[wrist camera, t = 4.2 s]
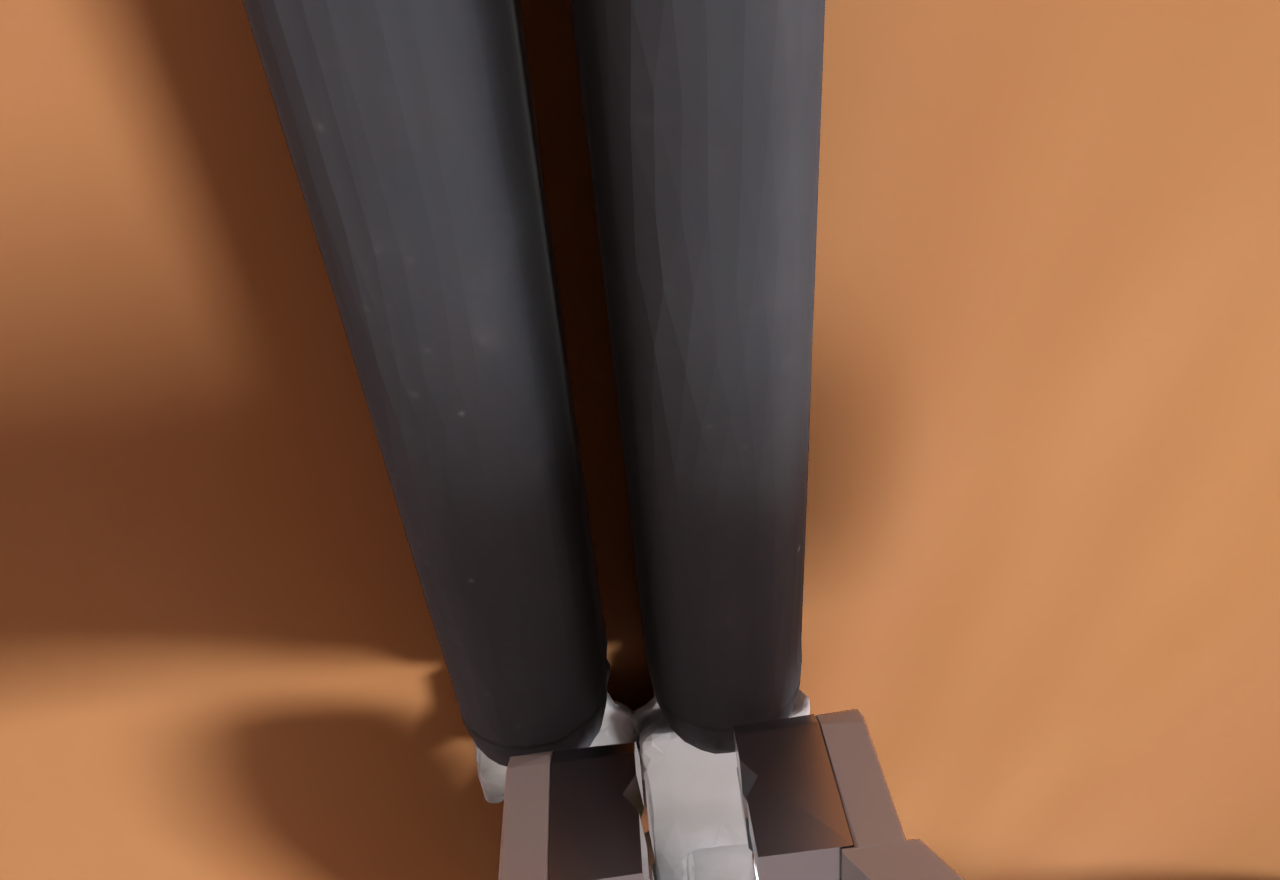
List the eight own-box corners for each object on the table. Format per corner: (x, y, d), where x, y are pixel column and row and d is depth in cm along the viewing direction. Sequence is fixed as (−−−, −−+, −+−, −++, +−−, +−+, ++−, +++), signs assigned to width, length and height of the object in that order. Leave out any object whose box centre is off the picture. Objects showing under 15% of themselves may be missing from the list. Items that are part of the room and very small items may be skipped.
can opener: (778, 854, 18) (860, 1255, 13) (541, 879, 18) (531, 1291, 13) (812, -330, 7) (1390, -715, 2) (217, -274, 7) (-636, -527, 2)
